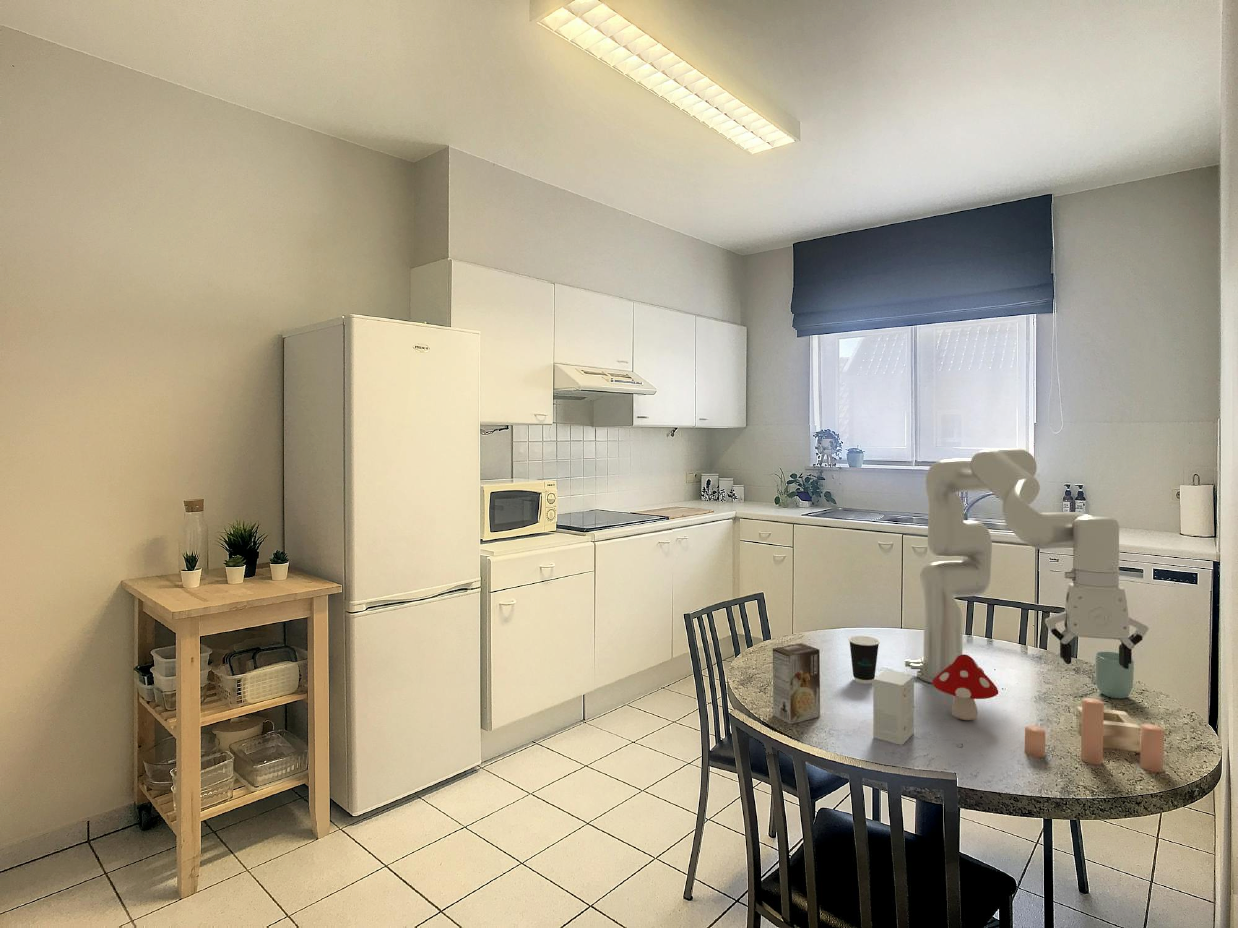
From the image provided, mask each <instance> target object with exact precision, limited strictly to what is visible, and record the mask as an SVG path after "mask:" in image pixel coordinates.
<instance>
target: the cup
mask: <svg viewBox="0 0 1238 928" xmlns="http://www.w3.org/2000/svg"><path fill="white" fill-rule="evenodd" d="M1094 656H1095V657H1094V661H1095V662H1094V678H1095V679H1094V680H1095V684H1096V688H1097V690H1098V692H1100V693H1101V694H1102V695H1104V696H1106V697H1109V698H1113V699H1125V698H1127V697H1129V696H1130V695H1131V693H1132V691H1133V686H1134V681H1135V679H1134V678H1135V675H1134V674H1135V661H1134V658H1133V657H1132V662H1131V664H1129V669H1125V668H1123V667H1122V666H1121V665H1120V664H1119V652H1116V651H1115V652H1114V651H1096V653H1095V655H1094Z"/></svg>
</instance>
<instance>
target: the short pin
mask: <svg viewBox="0 0 1238 928" xmlns="http://www.w3.org/2000/svg"><path fill="white" fill-rule="evenodd" d="M1024 753H1025V754H1026V755H1028V756H1030V757H1033V758H1041V759H1042V758H1044V757H1046V730H1045V729H1044V728H1042V727H1040V726H1037V725H1035V726H1034V725H1027V726H1024Z"/></svg>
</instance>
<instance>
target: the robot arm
mask: <svg viewBox="0 0 1238 928" xmlns="http://www.w3.org/2000/svg"><path fill="white" fill-rule="evenodd" d="M1037 468H1038V465H1037V461H1036V459H1035V457H1034V456H1033V454H1031V453H1030V452H1029V451H1028V450H1026V449H1023V448H1016V447H1015V448H1010V447H1009V448H986V449H982V450H980V451H978V452H977V453H975V454H974V455H973V456H972V457H971V458H951V459H949V458H948V459H943V460H939V461H936V462H935V463H933V464H932V465H931V466H930V467H929V468H928V471H927V472H926V476H925V490H926V494H927V501H928V519H927V545H928V549H929V551H930V554H932V555H934V556H937V557H940V558H941V557H942V558H955V557H956V558H957V557H958V558H959V557H960V558H961V557H962V560H944V561H943V560H942V561H941V560H939V561H933V562H930V563H929V562H928V563H927V564H926V565H924V566H923V567H922V569H921V570H920V573H919V583H920V588H921V592H922V600H923V602H922V603H923V656H921V659H917V660H913V659H904V667H907V668H910V670H916V674H917V677H918V678H919V679H920V680H922V681H924V682H927V683H929V684H932V681H933V679H934V678H935V677H936V676H937V675H938V674H939V673H941V672H942V671H943V670H944V669H946V668H947V667H948V666H949V665H950V664H951V661H952V660H953V659H954V658H955V657H957V656H960V655H963V643H964V641H963V640H964V637H963V635H964V633H963V632H964V631H963V629H964V616H963V612H962V611H963V610H961V608H960V606H959V604H958V603H957V601H956V598H961V597H963V598H964V597H977V596H982V595H984V594H985V593H986V592H987V591H988V590H989V587H990V583H991V575H992V574H991V573H992V572H991V569H992V551H993V543H992V541H993V540H992V536H991V533H990V531H989V529H988V527H987V526H986V525H985V524H983V523H982V522H980V521H978V520H977V521H976V520H965V518H964V517H965V506H964V502H963V500H962V499H961V497H960V495H959V494H958V493H960V492H967V493H968V492H971V493H973V492H975V493H976V492H991V493H992V494H993V495H994V496H996V498H997V499H998V500H1000V501H1001V502H1002V506H1001V507H1002V509H1001V510H1002V516H1003V519H1004V521H1005V524H1006V526H1007V527H1008V529H1009V530H1010V531H1011V532H1012V533H1013V534H1015V535H1016V537H1017V538H1018V539H1019V540H1021V541H1022V542H1023V543H1024V544H1026V545H1028V546H1030V548H1031V547H1032V548H1034V549H1038V550H1051V549H1054V550H1055V549H1072V568H1071V570H1070V571H1065V572H1064V579H1069V580H1071V581H1072V582H1070V583H1069V584H1068V588H1067V592H1066V597H1065V603H1064V604H1065V605H1064V611H1062V612H1059V613H1057V614H1053V615H1052V616H1049V617H1047V618H1044V622H1045V624H1046V626H1047V628H1048V630H1049V632H1050V633H1051V634H1052V635H1053V636H1054V637H1055V638H1056V639H1058V640H1059V656H1060V658H1061V659H1062V660H1063V662H1064V663H1066V665H1071V664H1072V645H1071V643H1070V641H1072V640H1073V639H1074V638H1075V637H1079V638H1090V639H1105V640H1119V641H1120V642H1121V644H1119V645H1118V653H1119V664H1120V665H1121V666H1122V667H1123V668H1125V669H1129V664H1131V662H1132V658H1133V657H1132V655H1133V654H1132V649H1133V650H1134V649H1135V646H1136V645H1138V644H1139V643H1140V642H1142V641H1143V638H1144V637H1145V635H1146V634H1147V633H1148V631H1149V627H1148V625H1146V624H1144V623H1142V622H1139V621H1138V620H1136V619H1134V618H1132V617H1130V616H1129V609H1128V601H1127V596H1126V595H1127V594H1126V591H1125V588H1124V587H1122V586H1120V585H1119V584H1120V579H1119V578H1120V525H1119V522H1118V520H1116V519H1115V518H1112V517H1109V516H1100V515H1099V516H1095V515H1090V514H1087V513H1084V512H1077V511H1072V512H1071V511H1068V512H1064V511H1062V512H1060V511H1058V512H1057V511H1056V512H1039V511H1036V509H1034V508H1033V507H1031V506H1030V504H1032V503H1033V502H1034V501H1035V500H1036V498H1037V497H1038V495H1039V493H1040V490H1041V489H1040V487H1041V486H1040V482H1039V481H1038V480H1037V478H1036V477H1035V476H1036V473H1037V471H1038V469H1037ZM1061 622H1063V625H1064V626H1063V627H1064V628H1065V629H1063V630H1062V631H1059V630H1058V628H1057V626H1056V624H1058V623H1061ZM1130 626H1132V627H1133V628H1135V632H1134V633H1132V634H1131V635H1130Z"/></svg>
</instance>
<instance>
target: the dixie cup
mask: <svg viewBox="0 0 1238 928" xmlns="http://www.w3.org/2000/svg"><path fill="white" fill-rule="evenodd" d="M848 641H849V648H850V649H849V650H850V658H851V665H852V666H851V667H852V677H854V678H853V680H854V682H856V683H859V684H867V685H868V684H873V679H874V678H876V671H877V669H876V668H877V662H878V651H879V644H880V643H881V641H880V640H879V639H878V638H876V637H872V636H867V635H854V636H853V635H852V636H849V638H848Z"/></svg>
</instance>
